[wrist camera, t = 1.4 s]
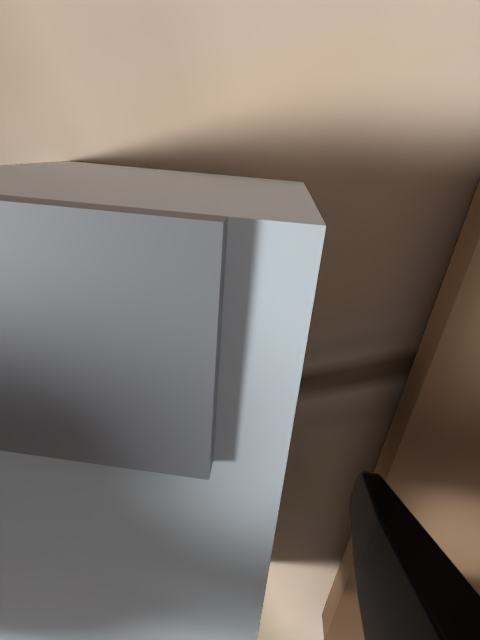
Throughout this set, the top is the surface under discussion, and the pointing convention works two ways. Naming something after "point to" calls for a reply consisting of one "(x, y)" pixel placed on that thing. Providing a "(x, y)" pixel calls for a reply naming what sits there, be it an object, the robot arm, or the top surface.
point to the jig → (434, 433)
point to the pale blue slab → (146, 395)
